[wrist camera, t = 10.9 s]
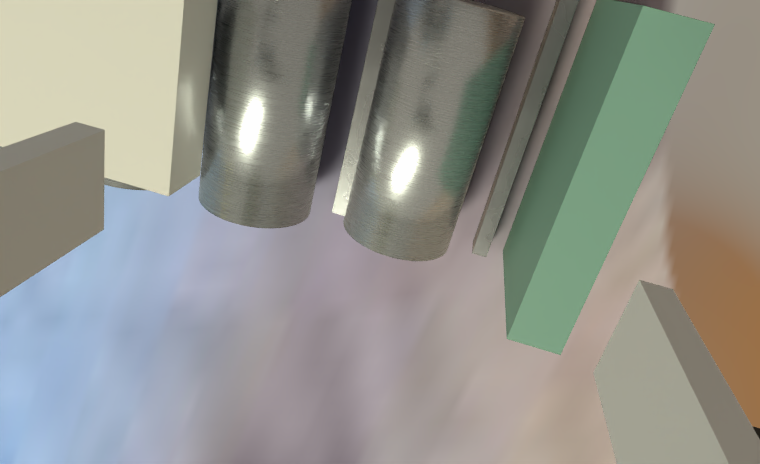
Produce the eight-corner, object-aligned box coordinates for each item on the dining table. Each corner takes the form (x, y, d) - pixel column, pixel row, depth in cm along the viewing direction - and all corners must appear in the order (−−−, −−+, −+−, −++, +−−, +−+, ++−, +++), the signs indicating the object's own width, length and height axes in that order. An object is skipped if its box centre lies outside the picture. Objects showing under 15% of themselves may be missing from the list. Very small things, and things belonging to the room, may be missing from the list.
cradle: (395, -56, 28) (390, -58, 26) (577, -8, 27) (581, -8, 26) (338, 202, 34) (332, 212, 32) (486, 245, 33) (486, 257, 32)
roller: (405, -19, 28) (393, -15, 23) (518, 12, 28) (532, 22, 23) (353, 198, 34) (333, 241, 28) (448, 225, 34) (446, 272, 28)
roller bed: (-20, -165, 29) (-136, -197, 24) (375, -61, 28) (348, -70, 22) (-4, 103, 35) (-93, 125, 30) (322, 198, 34) (290, 239, 28)
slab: (-129, -141, 25) (-205, -156, 22) (222, -47, 24) (188, -50, 21) (-98, 87, 29) (-159, 99, 26) (199, 175, 28) (168, 196, 25)
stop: (597, -3, 27) (643, 5, 19) (647, 10, 27) (714, 24, 19) (503, 250, 33) (506, 338, 25) (543, 262, 33) (560, 354, 25)
